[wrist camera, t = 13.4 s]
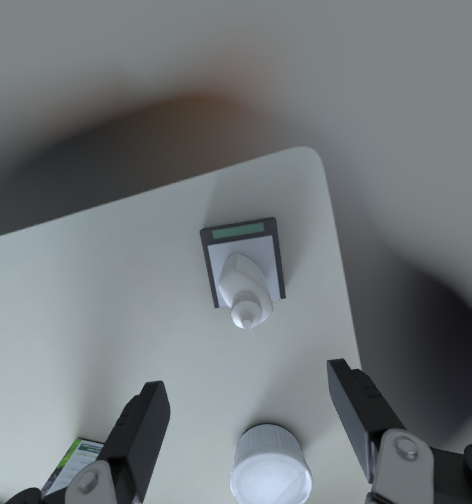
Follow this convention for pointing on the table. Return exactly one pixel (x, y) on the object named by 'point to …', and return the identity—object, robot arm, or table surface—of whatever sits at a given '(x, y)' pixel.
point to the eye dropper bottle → (245, 291)
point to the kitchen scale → (244, 253)
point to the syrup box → (72, 464)
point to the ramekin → (270, 468)
